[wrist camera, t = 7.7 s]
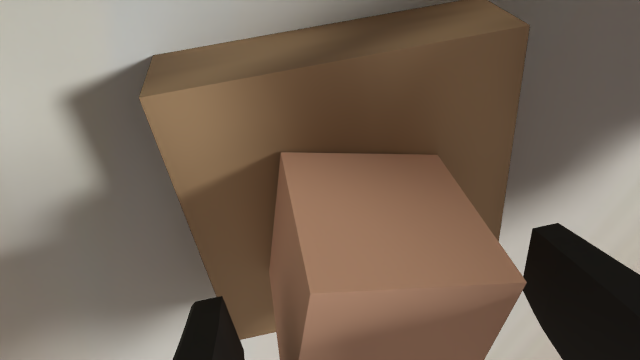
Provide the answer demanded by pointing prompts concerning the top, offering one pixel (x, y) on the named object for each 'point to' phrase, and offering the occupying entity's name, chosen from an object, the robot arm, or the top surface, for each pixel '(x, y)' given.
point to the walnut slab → (330, 122)
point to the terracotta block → (383, 261)
